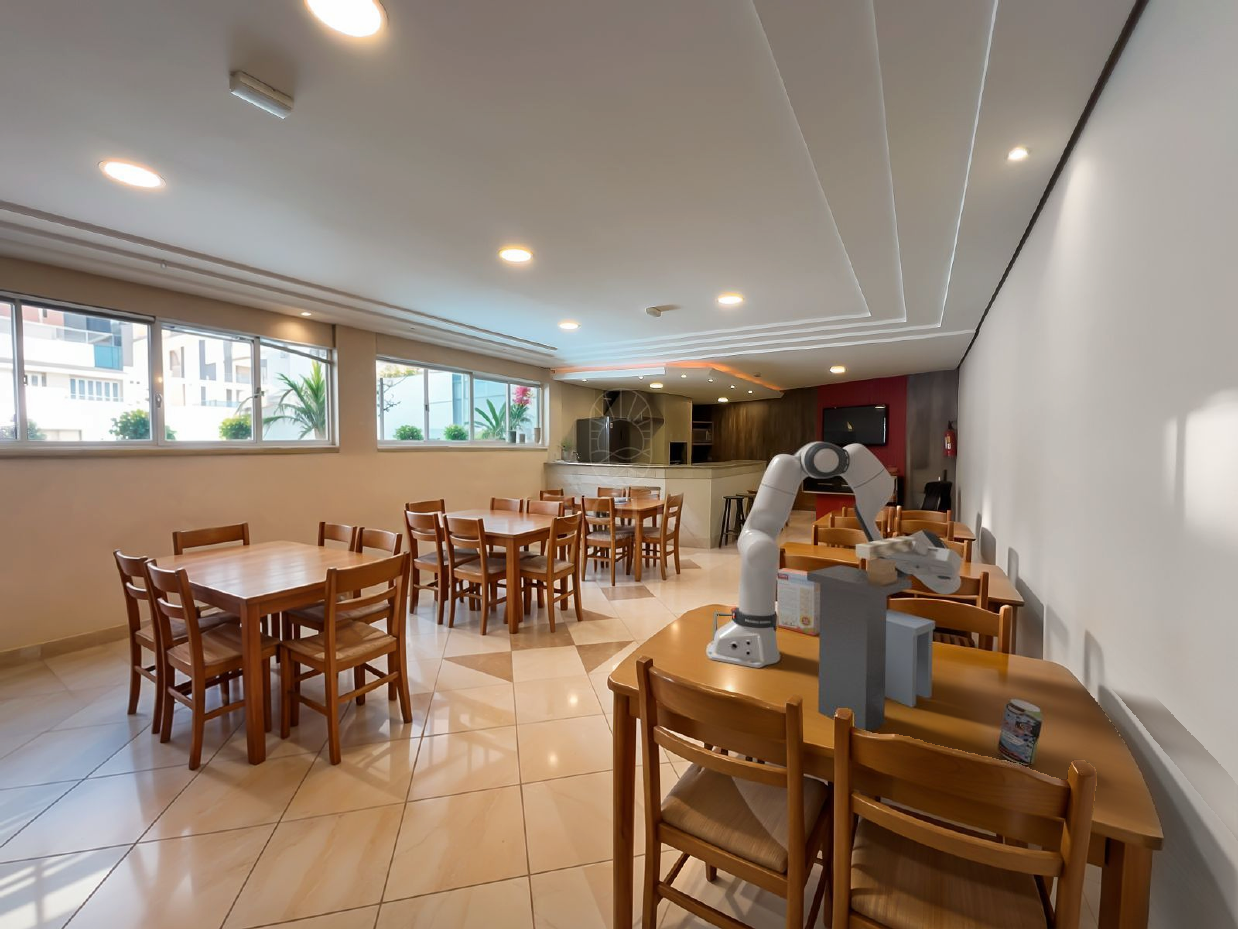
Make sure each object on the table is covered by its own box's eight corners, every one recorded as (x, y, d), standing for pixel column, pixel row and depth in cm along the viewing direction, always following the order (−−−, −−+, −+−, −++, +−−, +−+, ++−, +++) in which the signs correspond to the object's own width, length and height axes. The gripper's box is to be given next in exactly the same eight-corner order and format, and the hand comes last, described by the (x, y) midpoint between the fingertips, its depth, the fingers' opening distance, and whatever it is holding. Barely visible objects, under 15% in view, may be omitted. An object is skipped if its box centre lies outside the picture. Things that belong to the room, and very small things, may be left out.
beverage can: (990, 752, 109) (991, 696, 109) (1022, 750, 110) (1023, 695, 110) (1015, 770, 103) (1017, 711, 103) (1049, 768, 104) (1051, 710, 103)
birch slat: (902, 547, 138) (902, 535, 138) (916, 549, 135) (916, 537, 135) (855, 556, 125) (855, 544, 125) (869, 559, 122) (869, 546, 122)
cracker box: (821, 632, 181) (822, 573, 180) (813, 637, 176) (814, 576, 176) (784, 622, 191) (785, 566, 190) (776, 626, 186) (777, 569, 186)
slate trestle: (887, 680, 143) (888, 609, 143) (933, 697, 133) (935, 621, 133) (867, 689, 138) (868, 615, 137) (913, 708, 128) (915, 628, 127)
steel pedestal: (838, 693, 135) (840, 546, 134) (908, 723, 121) (911, 558, 119) (805, 708, 128) (807, 551, 126) (875, 742, 113) (878, 565, 112)
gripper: (890, 546, 150) (867, 526, 143) (968, 558, 133) (947, 536, 126) (884, 566, 149) (860, 547, 142) (962, 581, 132) (940, 560, 125)
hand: (902, 542), depth 134 cm, fingers closed on birch slat, 3 cm apart
